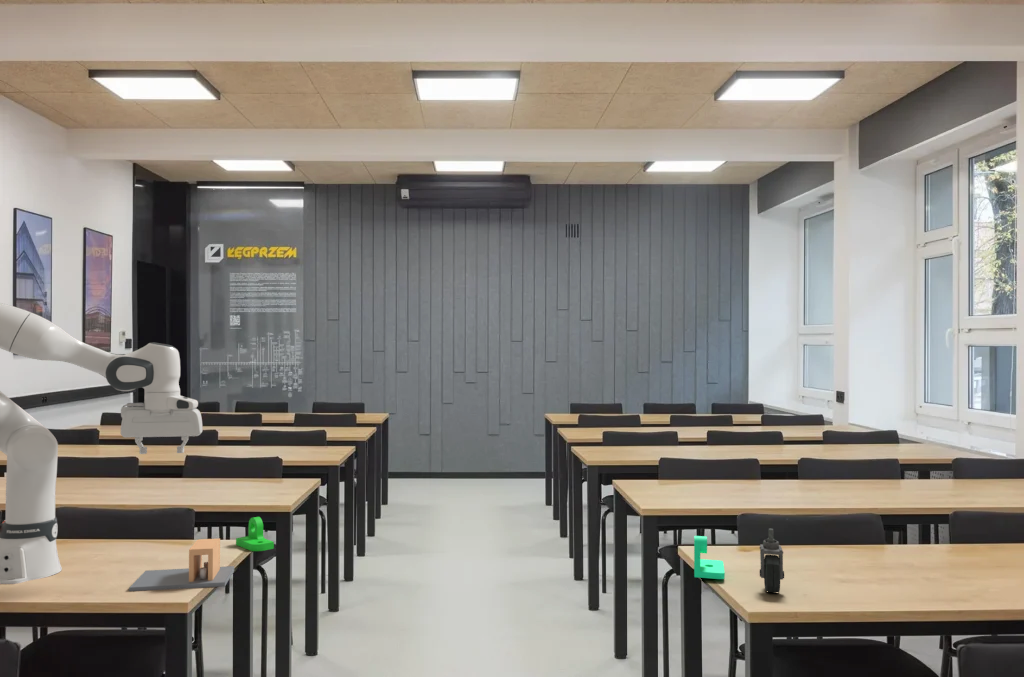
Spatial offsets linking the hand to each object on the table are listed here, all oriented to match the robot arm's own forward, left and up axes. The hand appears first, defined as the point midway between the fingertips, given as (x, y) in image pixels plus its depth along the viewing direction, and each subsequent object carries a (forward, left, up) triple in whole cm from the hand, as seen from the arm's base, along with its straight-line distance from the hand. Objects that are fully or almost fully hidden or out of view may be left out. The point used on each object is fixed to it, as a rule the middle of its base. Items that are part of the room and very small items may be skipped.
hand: (162, 453), depth 203 cm
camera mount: (+144, -33, -32) cm, 151 cm away
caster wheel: (+153, -49, -31) cm, 164 cm away
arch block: (+14, -14, -30) cm, 35 cm away
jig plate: (+9, -14, -31) cm, 35 cm away
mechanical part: (+22, +19, -32) cm, 43 cm away
